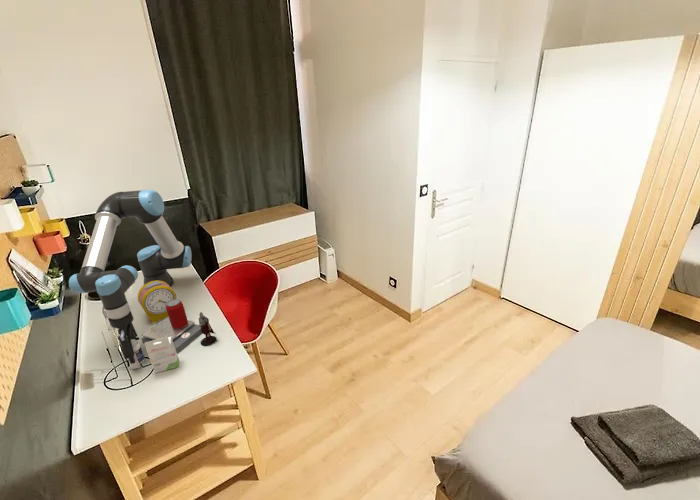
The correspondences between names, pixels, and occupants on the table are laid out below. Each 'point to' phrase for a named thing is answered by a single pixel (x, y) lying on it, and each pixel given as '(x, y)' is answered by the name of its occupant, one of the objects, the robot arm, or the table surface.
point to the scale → (182, 337)
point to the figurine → (206, 331)
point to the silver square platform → (165, 330)
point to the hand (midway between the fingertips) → (137, 361)
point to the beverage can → (176, 313)
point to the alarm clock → (155, 299)
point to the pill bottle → (137, 351)
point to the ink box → (162, 354)
